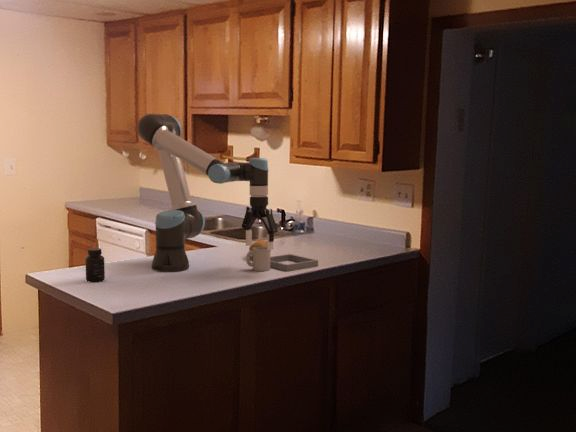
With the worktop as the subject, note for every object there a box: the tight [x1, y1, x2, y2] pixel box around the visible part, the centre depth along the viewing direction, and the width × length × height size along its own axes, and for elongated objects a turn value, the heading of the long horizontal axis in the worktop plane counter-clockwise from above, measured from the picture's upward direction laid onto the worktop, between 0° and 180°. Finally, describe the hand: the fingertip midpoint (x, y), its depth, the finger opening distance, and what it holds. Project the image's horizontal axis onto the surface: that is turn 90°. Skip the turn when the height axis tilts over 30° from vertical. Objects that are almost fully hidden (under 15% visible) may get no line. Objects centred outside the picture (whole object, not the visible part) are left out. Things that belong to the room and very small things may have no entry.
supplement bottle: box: [85, 247, 106, 283], centre depth 244 cm, size 7×7×12 cm
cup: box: [245, 247, 271, 272], centre depth 269 cm, size 7×10×9 cm
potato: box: [248, 239, 272, 256], centre depth 295 cm, size 10×14×8 cm
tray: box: [270, 253, 319, 272], centre depth 280 cm, size 18×18×2 cm
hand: (259, 247), depth 268 cm, fingers open, 13 cm apart
